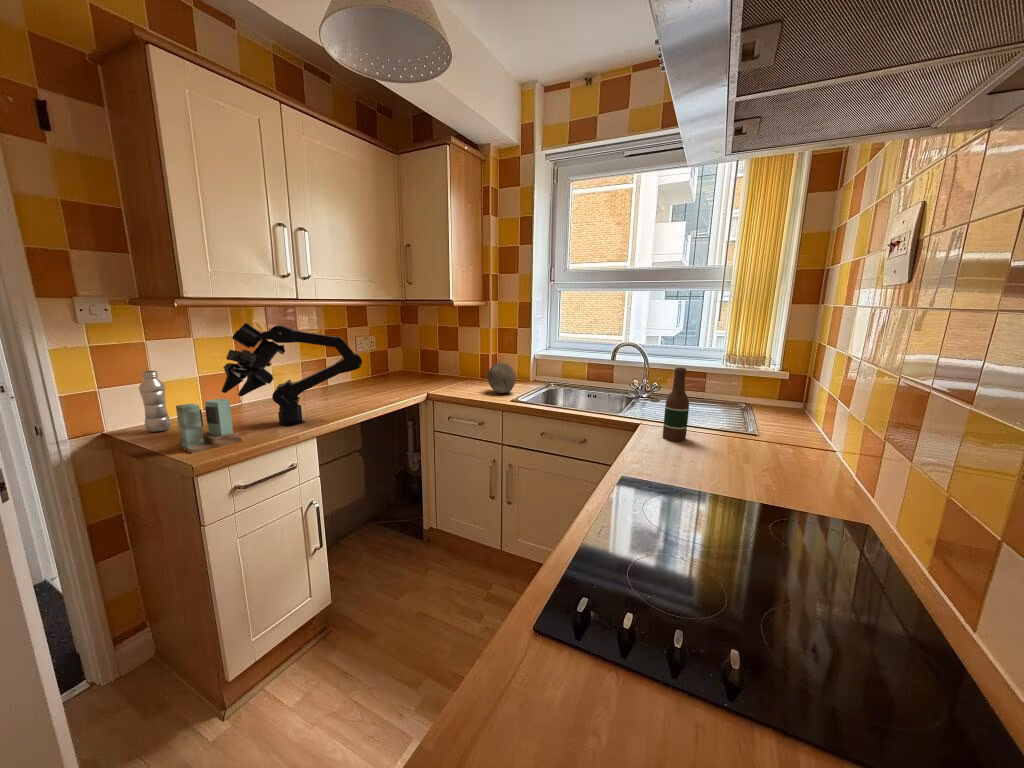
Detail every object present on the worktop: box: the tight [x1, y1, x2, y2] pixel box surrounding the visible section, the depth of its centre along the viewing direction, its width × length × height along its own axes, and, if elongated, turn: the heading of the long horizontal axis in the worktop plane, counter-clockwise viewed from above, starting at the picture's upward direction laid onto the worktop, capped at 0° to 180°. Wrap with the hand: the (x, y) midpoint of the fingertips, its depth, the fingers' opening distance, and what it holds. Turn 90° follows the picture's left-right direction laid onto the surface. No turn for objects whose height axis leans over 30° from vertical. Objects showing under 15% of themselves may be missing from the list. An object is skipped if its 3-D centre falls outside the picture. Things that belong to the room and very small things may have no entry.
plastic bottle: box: [138, 370, 171, 433], centre depth 133 cm, size 6×7×20 cm
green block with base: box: [175, 402, 242, 454], centre depth 123 cm, size 13×9×13 cm
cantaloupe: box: [487, 363, 516, 394], centre depth 200 cm, size 14×14×15 cm
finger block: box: [204, 398, 234, 437], centre depth 125 cm, size 5×4×12 cm
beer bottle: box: [662, 367, 690, 443], centre depth 135 cm, size 8×8×24 cm
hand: (231, 394), depth 130 cm, fingers open, 9 cm apart
